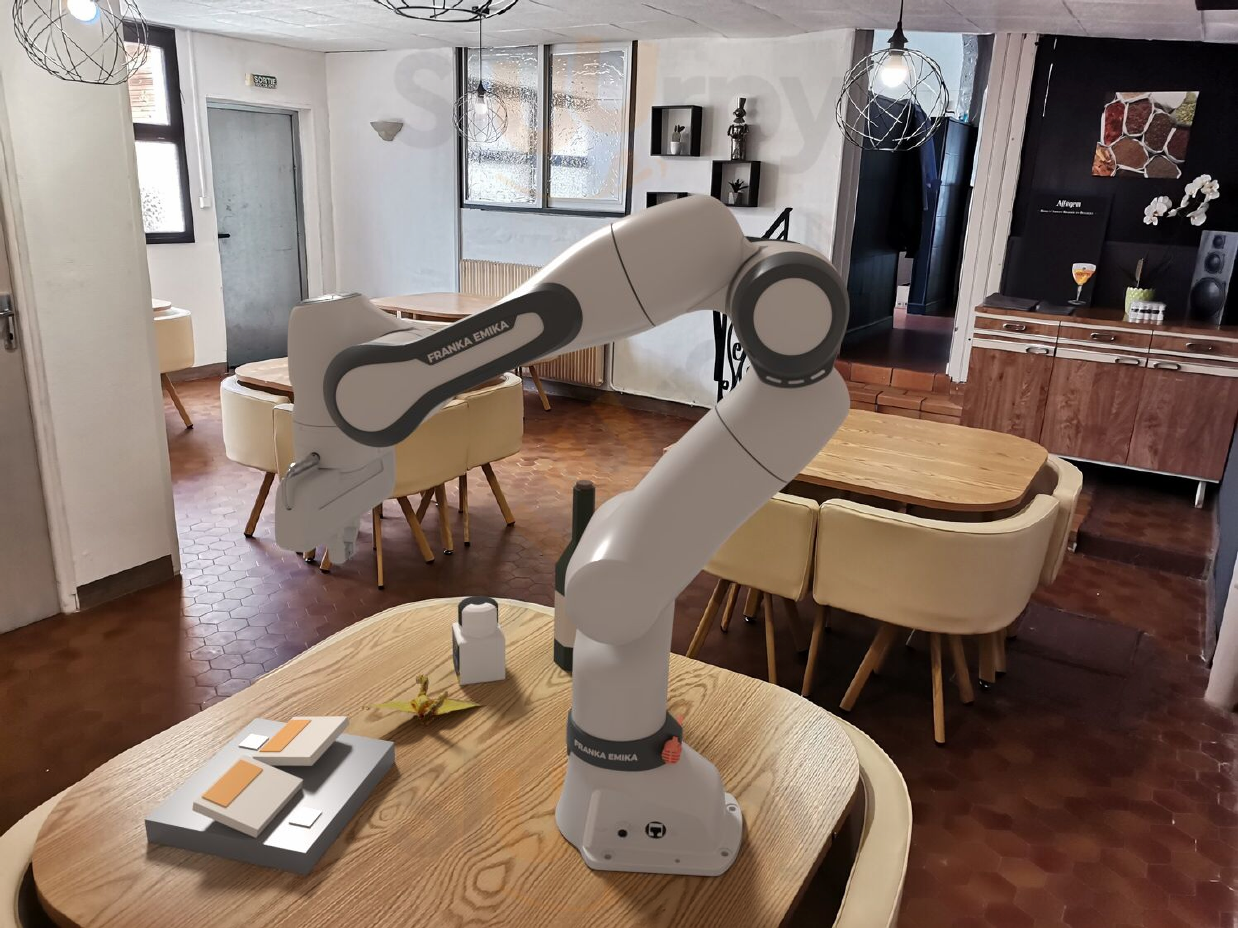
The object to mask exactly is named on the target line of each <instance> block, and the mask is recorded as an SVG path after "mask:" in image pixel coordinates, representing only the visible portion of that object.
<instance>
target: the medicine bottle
mask: <svg viewBox="0 0 1238 928" xmlns="http://www.w3.org/2000/svg"><path fill="white" fill-rule="evenodd" d="M457 621H458V622H457ZM457 621H455V622H453V623H452V625H451V629H452V630H451V631H452V632H451V633H452V634H451V635H452V636H451V637H452V641H451V642H452V663H453V667H454V671H455V674H456V675H455V676H456V679H457V683H458V685H459V686H465V685H473V684H481V683H488V682H489V683H490V682H497V681H504V680H505V679H506V637H505V635H504V632H503V629H502V627H501V625H500V622H499V603H498V602H497V600H495V598H492V597H490V596H485V595H471V596H469V597H466V598H464V599H462V600H461V601H460V602H459V603H458V605H457Z"/></svg>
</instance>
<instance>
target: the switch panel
mask: <svg viewBox="0 0 1238 928" xmlns="http://www.w3.org/2000/svg"><path fill="white" fill-rule="evenodd" d="M286 723H287V722H282V721H277V720H271V719H268V718H267V719H266V718H261V717H255V718H254V719H253V720H252V721H251V722H250V723H249V724H248V725H246V726H245V728H243V729H242V730H241V731H240V732H239V733H238V734H237V735H236V736H235V737H234V738H232V739H231V740H230V741H229V742H228V743H226V744H225V745H224V746H223V747H222V748H221V749H220V750H219V751H218V752H216V754H215V755H214V756H213V757H211V758H210V759H209V760H208V761H206V763H205V764H204V765H202V767H201V768H199V769H198V770H196V771H195V773H194V774H192V775H191V776H190V778H188V779H187V780H186V781H184V783H182V784H181V786H180V787H178V788H177V789H176V790H175V791H174V792H173V793H172V794H171V795H169V796H168V797H167V798H166V799H165V800H163V802H162V803H161V804H159V806H157V807H156V808H155V809H154V810H153V811H152V812H151V813H150V814H149V815H147V816H146V817H145V818H144V826H145V833H146V840H147V841H146V842H148V843H153V844H158V845H163V846H168V847H172V848H176V849H182V850H185V851H190V852H196V853H200V854H205V855H210V856H214V857H217V858H218V857H219V858H223V859H228V860H233V861H238V862H242V863H247V864H251V865H255V866H260V867H264V868H270V869H274V870H279V871H284V872H288V873H293V874H297V875H303V876H308V875H309V874H310V873H311V871H312V870H313V869H314V868H315V866H316V865H317V864H318V862H319V861H320V860H321V859H322V857H323V856H324V855H325V853H326V852H327V851H328V849H329V848H330V847H331V846H332V845H333V843H334V842H335V841H336V839H337V838H338V837H339V835H340V834H341V833H342V831H344V829H345V828H346V827H347V825H348V824H349V822H351V820H352V818H353V817H354V816H355V815H356V813H357V812H358V811H359V810H360V808H361V807H362V805H363V804H364V803H365V802H366V801H367V799H368V798H369V797H370V796H371V794H372V792H373V791H374V790H375V789H376V787H377V786H378V784H379V783H380V782H382V780H383V779H384V777H385V776H386V774H387V773H388V772H389V771H390V769H391V768H392V767H393V765H394V764H395V763H396V755H395V754H396V753H395V742H394V741H390V740H382V739H379V738H378V739H377V738H374V737H366V736H362V735H355V734H350V733H345V732H342V733H341V734H340V736H339V737H338V738H337V739H336V740H335V741H334V742H333V743H332V744H331V745H330V746H329V748H328V749H327V750H326V751H325V752H324V753H323V754H322V755H321V756H320V757H319V759H318V760H317V761H316V762H315V763H314V764H313V765H312V766H294V765H270V766H272V767H274V768H277V769H279V770H281V771H284V772H286V773H289V774H291V775H293V776H296V777H298V778H300V779H303V782H302V787H301V789H300V790H299V791H298V792H297V793H296V794H295V795H294V796H293V797H292V799H291V800H290V801H289V802H288V803H287V804H286V805H285V806H284V807H283V809H282V810H281V811H280V812H279V813H278V814H277V815H276V816H275V818H274V819H273V820H272V821H271V822H270V823H269V824H268V825H267V826H266V828H265V829H264V830H263V831H262V832H261V833H260V834H259V835H258V836H257V838H255V837H253V836H250V835H248V834H246V833H243V832H241V831H239V830H237V829H234V828H232V827H230V826H227V825H225V824H223V823H220V822H218V821H216V820H214V819H211V818H209V817H207V816H204V815H202V814H200V813H197V812H195V811H193V810H192V808H193V802H194V801H195V800H196V799H197V798H198V797H199V796H200V795H201V794H202V793H203V792H204V791H205V790H206V789H208V788H209V787H210V786H211V785H212V784H213V783H214V782H215V781H216V780H217V779H218V778H219V777H220V776H221V775H222V774H223V773H224V772H225V771H226V770H228V769H229V768H230V767H231V766H232V765H233V764H234V763H235V762H236V761H237V760H238V759H239V758H240V757H241V756H242V755H243V754H244V755H246V756H248V757H251V758H253V757H252V756H253V755H254V754H255V753H257V752H258V751H259V750H260V749H261V748H262V747H263V746H264V745H265V744H266V743H267V742H268V741H269V740H270V739H271V738H272V737H273V736H274V735H275V734H276V733H277V732H278V731H279V730H280V729H281V728H282V727H283V726H284V725H285V724H286Z"/></svg>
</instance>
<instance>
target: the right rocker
mask: <svg viewBox="0 0 1238 928" xmlns="http://www.w3.org/2000/svg"><path fill="white" fill-rule="evenodd" d="M285 723H286V724H285V725H284V726H283V727H282V728H281V729H280V730H279V731H278V732H277V733H276V734H275V735H274V736H273V737H272V738H271V739H270V740H269V741H268V742H267V743H266V744H265V745H264V746H263V747H262V748H261V749H260V750H259V751H258V752H257V753H255V754H254V755H253V756H252V757H253V759H255V760H258V761H260V762H262V763H265V764H267V765H294V766H312V765H313V764H314V763H315V762H316V761H317V760H318V759H319V757H320V756H321V755H322V754H323V753H324V752H325V751H326V750H327V749H328V748H329V746H330V745H331V744H332V743H333V742H334V741H335V740H336V739H337V738H338V737H339V736H340V734H341V733H344V731H345V730H346V729H347V728H348V727H349V726H350V721H349V717H348V716H344V715H343V716H338V715H337V716H330V715H329V716H323V715H321V716H293V717H291V719H289V721H288V722H285Z"/></svg>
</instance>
